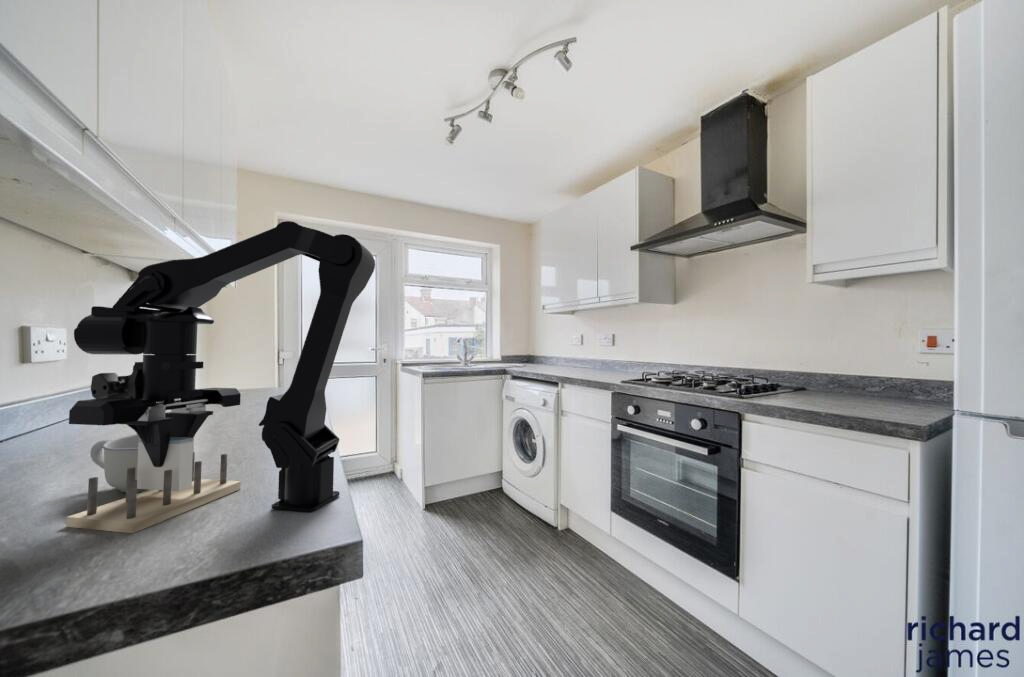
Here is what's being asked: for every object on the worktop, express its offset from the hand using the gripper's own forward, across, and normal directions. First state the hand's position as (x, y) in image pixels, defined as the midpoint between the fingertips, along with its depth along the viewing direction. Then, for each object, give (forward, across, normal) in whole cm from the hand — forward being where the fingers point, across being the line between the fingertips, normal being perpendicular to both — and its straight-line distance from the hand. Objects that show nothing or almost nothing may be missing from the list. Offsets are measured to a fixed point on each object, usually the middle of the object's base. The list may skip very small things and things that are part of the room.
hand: (166, 464), depth 54 cm
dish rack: (+6, 0, 0) cm, 6 cm away
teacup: (+6, -6, -12) cm, 15 cm away
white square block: (+3, 0, 0) cm, 3 cm away
